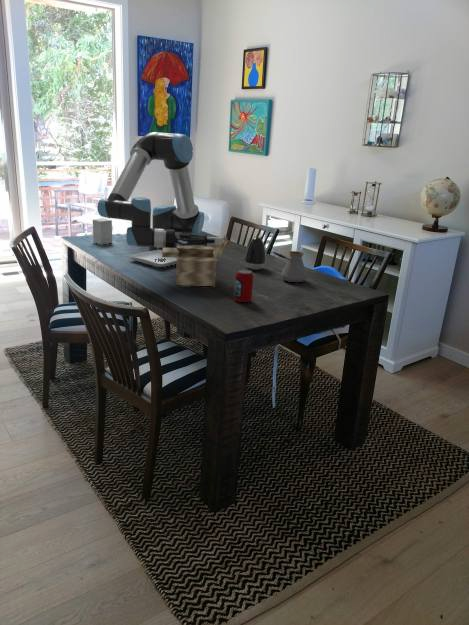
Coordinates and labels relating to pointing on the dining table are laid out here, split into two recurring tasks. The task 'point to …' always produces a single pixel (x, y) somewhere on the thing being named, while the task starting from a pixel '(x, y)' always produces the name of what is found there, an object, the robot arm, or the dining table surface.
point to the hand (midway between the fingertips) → (222, 241)
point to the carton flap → (221, 247)
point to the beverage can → (243, 285)
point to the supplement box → (102, 231)
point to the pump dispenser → (255, 254)
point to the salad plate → (152, 255)
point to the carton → (193, 265)
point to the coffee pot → (293, 267)
